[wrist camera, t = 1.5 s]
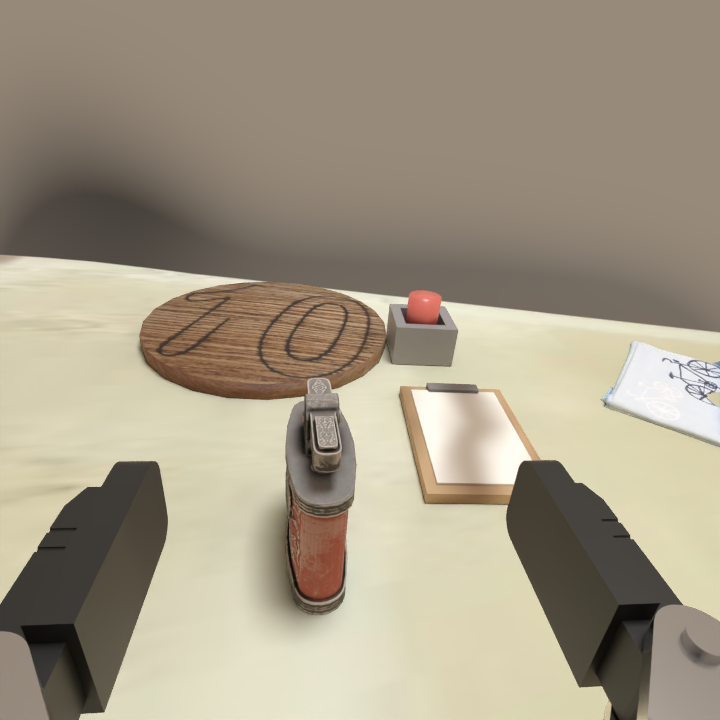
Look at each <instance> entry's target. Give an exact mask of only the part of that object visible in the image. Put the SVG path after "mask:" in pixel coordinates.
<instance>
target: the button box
mask: <svg viewBox="0 0 720 720" xmlns="http://www.w3.org/2000/svg"><path fill="white" fill-rule="evenodd" d="M407 308H408V305H404V304H390V307H389V316H388V324H387V333H386V339H387V344H388V348H389V352H390V356H391V360H392V364H409V365H435V366H451V365H452V360H453V354H454V349H455V344H456V339H457V334H458V329H457V327H456V325H455V324H454V322H453V320H452V318H451V317H450V315H449V313H448V311H447V309H446V308H445V307H443V306H440V310H439V316H438V322H437V325H427V324H406V316H407Z"/></svg>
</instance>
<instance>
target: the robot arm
mask: <svg viewBox="0 0 720 720" xmlns="http://www.w3.org/2000/svg"><path fill="white" fill-rule="evenodd" d="M506 521H507V529H508V533H509V536H510V539H511V541H512V543H513V545H514V548H515V550H516V552H517V554H518V556H519V558H520V561H521V563H522V565H523V567H524V569H525V571H526V574H527V576H528V578H529V580H530V582H531V584H532V586H533V589H534V591H535V593H536V595H537V597H538V599H539V602H540V604H541V606H542V608H543V610H544V612H545V615H546V617H547V619H548V621H549V623H550V625H551V627H552V630H553V632H554V634H555V636H556V638H557V640H558V643H559V645H560V647H561V649H562V651H563V653H564V656H565V658H566V660H567V662H568V664H569V666H570V669H571V671H572V673H573V675H574V677H575V679H576V681H577V684H578V686H579V687H594V686H602V687H603V689H604V691H605V693H606V695H607V697H608V699H609V701H608V703H607V705H606V708H605V712H604V719H603V720H720V622H719V621H718V620H716V619H715V618H713V617H711V616H710V615H708V614H706V613H704V612H702V611H700V610H697V609H695V608H692V607H688V606H684V605H683V604H682V603H681V602H680V600H679V599H678V598H677V597H676V595H675V594H674V593H673V591H672V590H671V589H670V587H669V586H668V585H667V583H666V582H665V581H664V579H663V578H662V577H661V575H660V574H659V573H658V571H657V570H656V569H655V567H654V566H653V565H652V563H651V562H650V561H649V559H648V558H647V557H646V555H645V554H644V553H643V552H642V550H641V549H640V548H639V546H638V545H637V544H636V542H635V541H634V540H633V539H631V538H630V534H629V533H628V532H627V530H626V529H625V528H624V526H623V525H622V524H621V523H618V518H617V517H616V516H615V514H614V513H613V512H612V510H611V509H610V508H609V506H608V505H607V504H606V503H605V501H604V500H603V499H602V498H601V497H599V496H598V495H597V494H595V493H594V492H593V491H592V490H590V489H589V488H588V487H586V486H585V485H584V484H583V483H575V482H574V481H573V479H572V478H571V477H570V475H569V474H568V472H567V471H566V470H565V468H564V467H563V465H562V464H561V463H560V462H558V461H556V460H529V461H523V462H522V463H521V464H520V466H519V468H518V472H517V476H516V479H515V483H514V486H513V490H512V494H511V497H510V501H509V505H508V508H507V515H506ZM167 526H168V516H167V509H166V503H165V497H164V491H163V486H162V480H161V474H160V468H159V465H158V463H157V462H155V461H131V462H117V463H116V464H115V465H114V466H113V468H112V469H111V471H110V473H109V475H108V476H107V478H106V480H105V481H104V483H103V485H102V486H101V487H87V488H86V489H85V490H83V491H82V492H81V493H80V494H78V495H77V496H76V497H75V498H74V499H72V500H71V501H70V502H69V503H68V504H66V505H65V506H64V507H63V509H62V511H61V512H60V514H59V515H58V517H57V518H56V520H55V521H54V523H53V524H52V526H51V527H50V532H49V533H47V534H46V535H45V537H44V538H43V540H42V541H41V543H40V544H39V546H38V550H37V552H34V553H33V555H32V557H31V558H30V560H29V561H28V563H27V564H26V566H25V567H24V569H23V570H22V572H21V573H20V575H19V576H18V578H17V580H16V581H15V583H14V584H13V586H12V587H11V589H10V590H9V592H8V593H7V595H6V596H5V598H4V600H3V601H2V603H1V604H0V720H79V717H80V715H81V714H84V713H102V712H104V711H105V709H106V706H107V703H108V700H109V698H110V695H111V692H112V689H113V686H114V684H115V681H116V678H117V675H118V672H119V670H120V667H121V664H122V661H123V658H124V656H125V653H126V650H127V647H128V644H129V642H130V639H131V636H132V633H133V630H134V628H135V625H136V622H137V619H138V616H139V614H140V611H141V608H142V605H143V602H144V600H145V597H146V594H147V591H148V589H149V586H150V583H151V580H152V577H153V575H154V572H155V569H156V566H157V563H158V561H159V558H160V555H161V552H162V549H163V547H164V543H165V540H166V534H167Z"/></svg>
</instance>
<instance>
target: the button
mask: <svg viewBox="0 0 720 720" xmlns="http://www.w3.org/2000/svg"><path fill="white" fill-rule="evenodd" d="M440 304H441V296H440V295H439V294H437V293H434V292H430V291H425V290H424V291H423V290H417V291H413V292H410V294H409V301H408V308H407V316H406V324H427V325H437V322H438V316H439V310H440Z"/></svg>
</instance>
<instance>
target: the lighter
mask: <svg viewBox="0 0 720 720" xmlns="http://www.w3.org/2000/svg"><path fill="white" fill-rule="evenodd" d="M286 465H287V467H286V502H287V511H288V516H287V527H286V559H287V569H288V576H289V580H290V584H291V588H292V592H293V597H294V600H295V602H296V604H297V606H298V607H299V608H300V609H301V610H303V611H304V612H307V613H310V614H316V615H322V614H326V613H330V612H332V611H333V610H335V609H337V608H338V607H339V606H340V604H341V603H342V602H343V599H344V596H345V586H346V573H347V544H346V530H347V519H348V509H349V508H350V507H351V506H352V503H353V500H354V490H355V477H356V457H355V448H354V441H353V438H352V435H351V432H350V429H349V426H348V423H347V422H346V420H345V418H344V416H343V414H342V412H341V410H340V408H339V398H338V394H337V393H332V389H331V384H330V381H329V380H328V379H326V378H311V379H309V380H308V382H307V394H305V399H304V401H302V402H299V403H298V404H296V405H295V406H294V407H293V409H292V412H291V415H290V419H289V422H288V425H287V435H286Z"/></svg>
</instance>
